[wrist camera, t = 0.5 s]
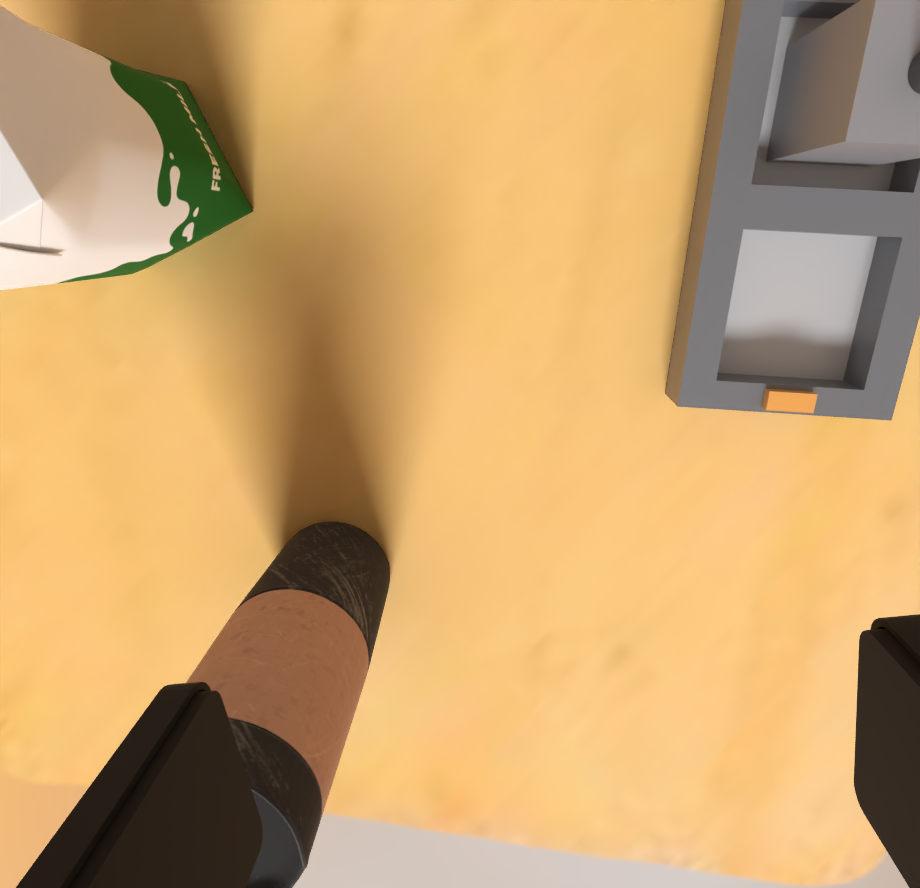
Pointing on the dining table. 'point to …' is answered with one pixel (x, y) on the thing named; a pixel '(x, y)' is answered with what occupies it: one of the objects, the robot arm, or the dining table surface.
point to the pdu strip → (791, 251)
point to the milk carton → (99, 164)
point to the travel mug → (298, 681)
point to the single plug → (852, 89)
